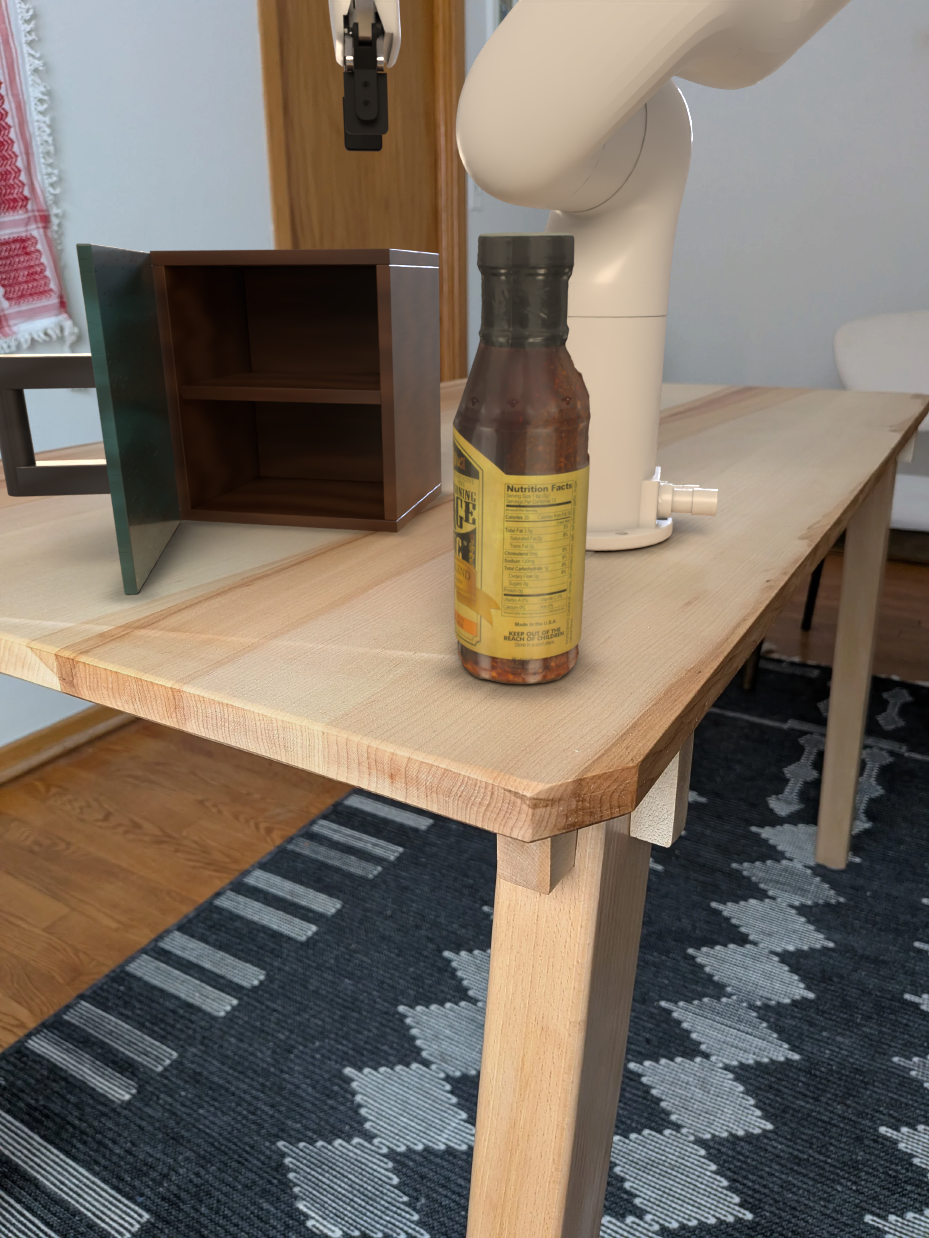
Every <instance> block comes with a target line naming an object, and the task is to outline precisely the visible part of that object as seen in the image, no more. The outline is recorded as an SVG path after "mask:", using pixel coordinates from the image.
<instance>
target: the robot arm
mask: <svg viewBox="0 0 929 1238" xmlns="http://www.w3.org/2000/svg"><path fill="white" fill-rule="evenodd" d="M851 2H852V0H517V1H516V3H515V4H514V6H513V7H512V8H511V9H510V10H509V12H508V13H507V15H506V16H505V17H504V18H503V19H502V20H501V22H500V23H499V25H498V26H497V27H496V28H495V30H494V31H493V33H491V35H490V36H489V38H488V39H487V40H486V41H485V43H484V45H483V47H482V49H480V51H479V53H478V55H477V56H476V58H475V60H474V61H473V64H472V65H471V67H470V69H469V71H468V73H467V75H466V77H465V80H464V83H463V85H462V88H461V91H460V96H459V99H458V102H457V103H458V104H457V107H456V108H457V109H456V117H455V141H456V146H457V151H458V155H459V158H460V160H461V162H462V165H463V167H464V169H465V171H466V173H467V174H468V176H469V178H471V179H472V181H473V182H474V183H475V184H476V185H477V187H479V188H480V189H481V190H482V191H484V192H485V193H486V194H488V195H489V196H491V197H493V198H494V199H496V200H498V201H500V202H503V203H506V204H508V205H513V206H518V207H523V208H530V209H536V210H537V209H538V210H547V211H549V214H548V215H549V216H548V218H547V221H546V225H545V227H544V231H543V232H552V233H570V234H572V235H573V236H574V267H573V271H572V275H571V277H570V279H569V282H568V283H569V288H568V313H567V325H568V327H569V334H568V339H567V341H566V348H567V350H568V352H569V354H570V356H571V359H572V360H573V363H574V367H575V368H576V369H577V370H578V371H579V372H580V373H582V376H583V380H584V383H585V385H586V388H587V390H588V393H589V396H590V397H589V401H590V414H591V418H590V423H589V433H588V436H589V440H588V453H589V456H590V472H589V493H588V512H587V532H586V551H594V552H595V551H598V552H599V551H600V552H601V551H621V550H632V549H640V548H645V547H649V546H653V545H657V544H659V543H661V542H664V541H665V540H667V539H668V538H670V537H671V535H672V534H673V528H674V519H673V517H672V513H676V514H677V513H678V514H690V516H708V517H716V516H717V511H718V503H719V502H718V501H719V489H717V488H701V485H698V484H697V485H696V484H695V485H694V484H683V485H678V484H674V483H670V482H669V480H661V469H662V468H661V466H657V457H658V443H659V433H660V432H659V429H660V417H661V404H662V389H663V377H664V376H663V374H664V363H665V362H664V359H665V349H666V335H667V334H666V333H667V320H668V312H669V298H670V286H671V276H672V275H671V274H672V263H673V255H674V246H675V239H676V233H677V228H678V227H677V226H678V223H679V222H678V221H679V216H680V212H681V208H682V205H683V204H682V203H683V199H684V194H685V190H686V186H687V180H688V177H689V172H690V166H691V160H692V150H693V126H692V119H691V115H690V111H689V107H688V104H687V102H686V99H685V96H684V95H683V93H682V91H681V89H680V88H679V86H678V84H677V83H676V82H675V81H674V80H673V77H677V78H680V79H682V80H684V81H688V82H691V83H694V84H698V85H700V86H703V87H708V88H712V89H718V90H725V91H726V90H727V91H734V90H735V91H736V90H740V89H745V88H748V87H752V86H754V85H757V84H759V83H760V82H762V81H763V80H765V79H766V78H768V77H770V76H771V75H772V74H773V73H775V72H777V70H779V69H780V68H781V67H782V66H784V65H785V64H786V63H787V62H788V61H789V60H790V59H791V58H792V57H793V56H794V55H795V54H796V53H797V52H799V50H801V49H802V48H803V47H804V46H805V44H807V43H808V42H809V41H810V40H811V39H812V38H813V37H814V36H815V35H816V34H817V33H818V32H819V31H820V30H822V29H823V28H824V27H825V26H826V25H827V24H828V23H829V22H830V21H831V20H832V19H833V18H834V17H835V16H836V15H838V14H839V13H840V12H841V11H842V10H843V9H844V8H845V7H846V6H848V5H849V3H851ZM328 13H329V20H330V28H331V36H332V43H333V48H334V55H335V62H336V63H337V64H338V65H339V66H341V67H342V68H343V71H342V73H343V74H342V77H343V78H342V79H343V96H342V118H343V119H342V120H343V142H344V145H343V146H344V149H345V150H346V151H347V152H369V153H370V152H375V153H377V152H381V151H382V150H383V136H384V135H386V134H387V133H388V132H389V127H390V126H389V95H388V92H389V91H388V72H385V63H386V68H387V69H391V68H393V66H394V65H396V62H397V60H398V57H399V53H400V49H401V42H402V36H401V35H402V34H401V32H402V31H401V16H400V15H401V14H400V13H401V12H400V0H328Z"/></svg>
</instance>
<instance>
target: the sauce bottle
mask: <svg viewBox="0 0 929 1238" xmlns="http://www.w3.org/2000/svg"><path fill="white" fill-rule="evenodd" d="M476 266H477V269H478V271H479V273H480V278H481V279H480V280H481V283H480V288H481V290H480V291H481V293H480V296H481V305H480V306H481V307H480V308H481V310H480V314H481V315H480V328H479V330H478V337H479V342H478V345H477V349H476V352H475V355H474V358H473V362H472V364H471V368H470V371H469V374H468V376H467V379H466V383H465V386H464V389H463V392H462V395H461V397H460V398H461V399H460V400H459V401H460V402H459V405H458V407H457V410H456V413H455V416H454V418H453V421H452V476H453V477H452V480H453V481H452V484H453V485H452V486H453V487H452V495H453V496H452V517H453V578H454V579H453V588H454V589H453V592H454V593H453V595H454V596H453V597H454V600H453V602H454V603H453V604H454V605H453V606H454V612H453V613H454V635H455V638H456V639H457V653H458V656H459V660H460V662H461V664H462V666H463V667H464V668H466V671H467V672H468V673H469V674H471V676H473V677H475V678H476V679H480V680H487V681H492V682H496V683H502V684H507V685H509V684H511V685H533V684H545V683H549V682H553V681H558V680H561V678H562V677H564V676H565V675H567V673H569V672H570V671H571V670H572V669H573V667H574V666H575V664H576V663H577V660H578V657H579V654H580V649H579V643H580V641H581V638H582V627H583V626H582V625H583V608H584V591H585V590H584V587H585V571H586V570H585V569H586V551H587V550H586V532H587V512H588V493H589V472H590V456H589V453H588V440H589V436H588V433H589V423H590V418H591V414H590V401H589V397H590V396H589V393H588V390H587V388H586V385H585V383H584V380H583V376H582V373H580V372H579V371H578V370H577V369H576V368H575V367H574V363H573V360H572V359H571V356H570V354H569V352H568V350H567V348H566V341H567V339H568V334H569V327H568V325H567V313H568V288H569V283H568V282H569V279H570V277H571V275H572V271H573V267H574V236H573V235H572V234H570V233H552V232H544V231H535V232H489V233H480V234H479V235H478V238H477V256H476Z"/></svg>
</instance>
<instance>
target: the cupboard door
mask: <svg viewBox="0 0 929 1238" xmlns="http://www.w3.org/2000/svg"><path fill="white" fill-rule="evenodd" d="M75 249H76V257H77V264H78V271H79V279H80V285H81V294H82V299H83V306H84V313H85V314H84V315H85V321H86V328H87V334H88V343H89V350H90V352H89V353H28V354H27V353H23V354H22V353H21V354H19V353H17V354H16V353H15V354H13V353H12V354H10V353H9V354H8V353H7V354H0V458H1V463H2V470H3V475H4V481H5V485H6V491H7V495H8V496H9V497H13V498H25V497H26V498H28V497H29V498H30V497H32V498H33V497H60V496H89V495H90V496H91V495H93V496H94V495H110V500H111V508H112V514H113V521H114V522H113V523H114V528H115V536H116V543H117V548H118V549H117V550H118V557H119V558H118V559H119V565H120V572H121V579H122V580H121V581H122V586H123V593H124V595H137V594H138V593H139V592H140V591H141V589H142V587H143V585H144V584H145V582H146V580H147V578H148V577H149V575H150V574H151V572H152V570H153V569H154V567H155V566H156V563H157V562H158V560H159V558H160V557H161V555H162V553H163V552H164V550H165V548H166V547H167V545H168V543H169V541H170V540H171V538H172V536H173V535H174V534H175V531H176V529H178V527H179V525H180V523H181V521H182V520H181V518H180V510H179V501H178V492H177V483H176V474H175V466H174V457H173V448H172V439H171V430H170V421H169V413H168V404H167V395H166V386H165V377H164V369H163V360H162V351H161V342H160V333H159V324H158V316H157V307H156V298H155V289H154V280H153V272H152V263H151V254H150V252H149V251H148V252H147V251H142V250H141V251H140V250H133V249H127V248H121V247H115V246H108V245H101V244H97V243H96V244H95V243H76V244H75ZM55 389H56V390H57V389H62V390H64V389H66V390H67V389H95V393H96V400H97V407H98V408H97V409H98V414H99V415H98V416H99V421H100V430H101V435H102V442H103V443H102V444H103V450H104V457H105V458H103V459H101V458H99V459H66V460H65V459H64V460H63V459H62V460H60V459H59V460H36V455H35V449H34V448H35V447H34V443H33V435H32V431H31V425H30V418H29V413H28V412H29V411H28V406H27V401H26V395H25V390H55Z"/></svg>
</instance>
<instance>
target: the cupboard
mask: <svg viewBox="0 0 929 1238" xmlns="http://www.w3.org/2000/svg"><path fill="white" fill-rule="evenodd" d="M149 253H150V254H151V263H152V272H153V280H154V289H155V298H156V307H157V316H158V324H159V333H160V342H161V351H162V360H163V369H164V377H165V386H166V395H167V404H168V413H169V421H170V430H171V439H172V448H173V457H174V466H175V474H176V483H177V492H178V501H179V510H180V518H181V521H189V522H205V523H223V524H239V525H240V524H241V525H259V526H275V527H276V526H277V527H291V528H292V527H293V528H308V529H309V528H311V529H312V528H313V529H327V530H328V529H329V530H346V531H362V532H379V533H381V532H382V533H398V532H400V531H401V530H402V529H403V528H404V527H405V526H406V525H408V524H409V523H410V522H411V521H412V520H413V519H414V518H415V517H416V516H418V515H419V514H420V513H421V512H423V510H424V509H425V508H427V507H428V506H429V505H430V504H431V503H432V502H434V500H435V499H436V498H438V497H439V496H440V495H441V494H442V427H441V426H442V425H441V424H442V421H441V420H442V419H441V416H442V415H441V328H440V327H441V325H440V323H441V322H440V254H439V253H437V252H436V253H435V252H426V251H417V250H415V251H414V250H406V249H396V248H309V249H307V248H305V249H304V248H303V249H302V248H301V249H300V248H299V249H297V248H296V249H295V248H294V249H199V250H198V249H197V250H196V249H194V250H192V249H190V250H185V249H183V250H149Z"/></svg>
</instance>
